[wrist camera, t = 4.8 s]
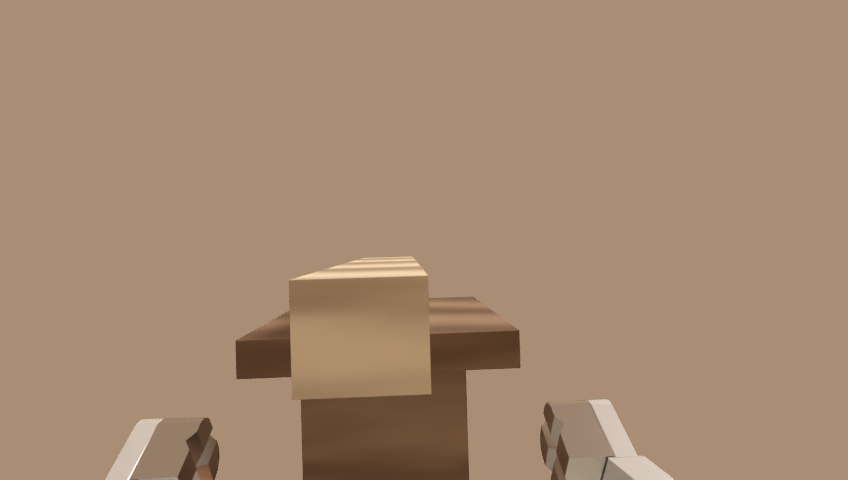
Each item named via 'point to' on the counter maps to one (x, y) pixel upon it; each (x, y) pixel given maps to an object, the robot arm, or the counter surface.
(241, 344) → the walnut pedestal
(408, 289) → the maple bar
